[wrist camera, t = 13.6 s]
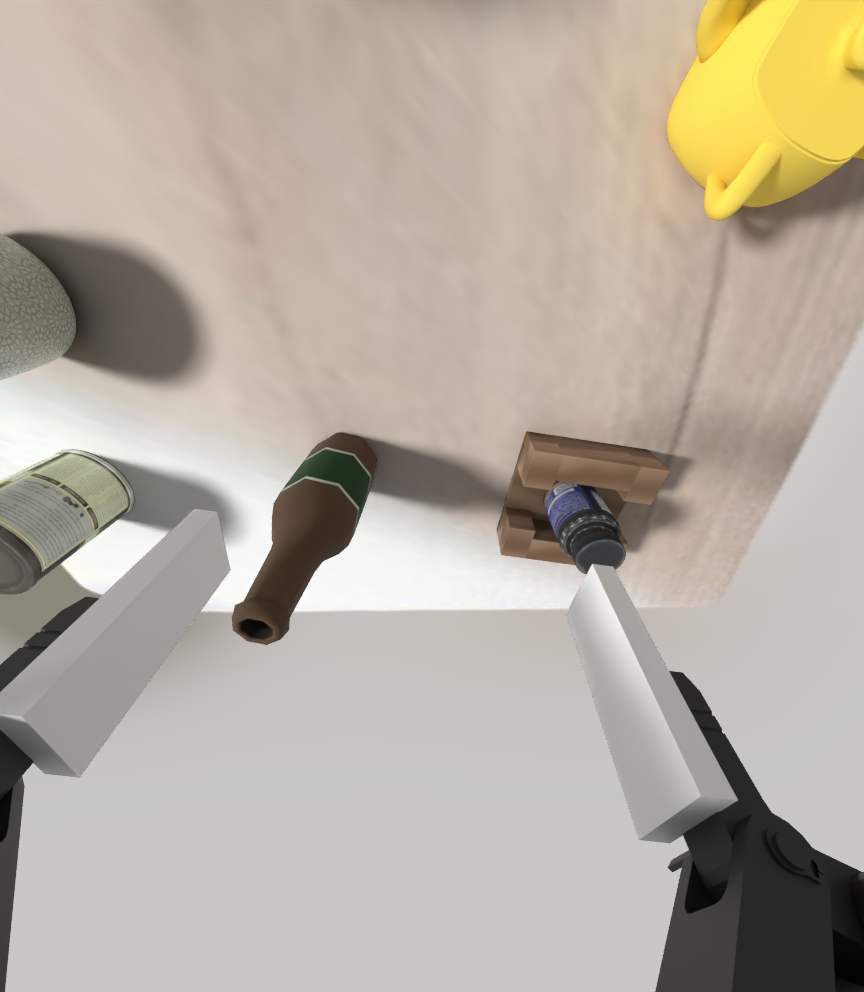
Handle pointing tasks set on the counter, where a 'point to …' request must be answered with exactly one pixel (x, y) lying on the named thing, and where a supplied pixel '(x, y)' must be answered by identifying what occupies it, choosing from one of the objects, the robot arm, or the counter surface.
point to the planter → (31, 312)
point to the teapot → (770, 99)
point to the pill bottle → (584, 525)
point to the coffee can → (55, 513)
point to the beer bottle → (306, 532)
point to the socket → (579, 463)
